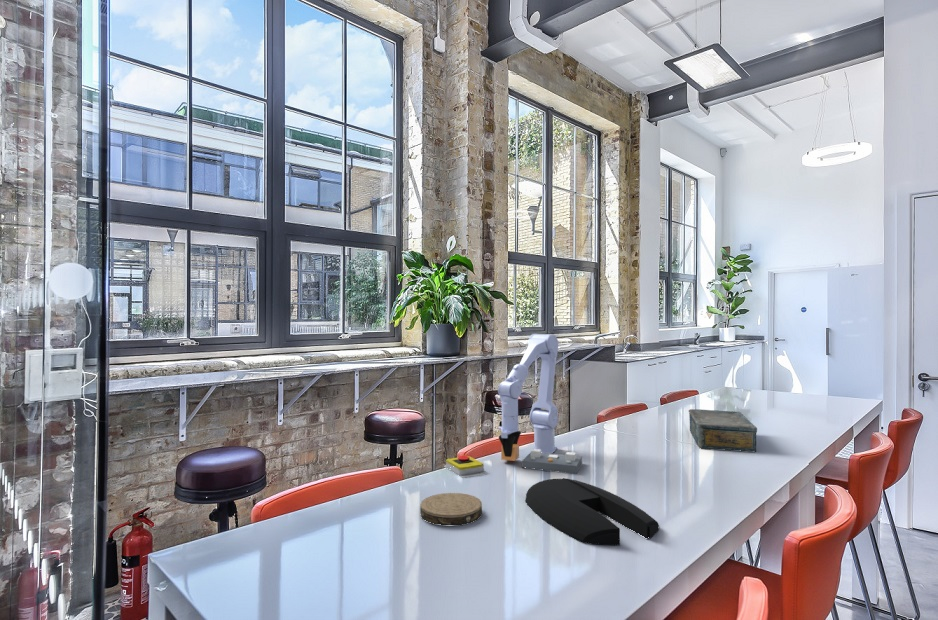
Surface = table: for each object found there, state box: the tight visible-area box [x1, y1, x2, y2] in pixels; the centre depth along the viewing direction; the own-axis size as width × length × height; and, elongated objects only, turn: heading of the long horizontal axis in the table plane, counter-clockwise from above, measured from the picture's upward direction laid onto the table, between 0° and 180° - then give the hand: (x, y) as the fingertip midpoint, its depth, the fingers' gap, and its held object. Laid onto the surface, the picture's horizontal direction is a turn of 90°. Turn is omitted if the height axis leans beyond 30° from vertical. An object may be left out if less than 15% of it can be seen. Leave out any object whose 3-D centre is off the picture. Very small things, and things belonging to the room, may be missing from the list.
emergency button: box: [443, 455, 488, 479], centre depth 173 cm, size 9×4×15 cm
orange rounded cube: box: [500, 443, 520, 462], centre depth 182 cm, size 5×5×4 cm
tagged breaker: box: [548, 455, 558, 460], centre depth 177 cm, size 3×3×3 cm
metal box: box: [688, 408, 758, 453], centre depth 210 cm, size 21×32×10 cm, turn 163°
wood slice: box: [419, 492, 483, 526], centre depth 135 cm, size 16×16×3 cm
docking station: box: [524, 478, 660, 546], centre depth 136 cm, size 25×41×5 cm, turn 22°
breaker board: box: [521, 448, 583, 474], centre depth 177 cm, size 12×18×4 cm, turn 69°
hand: (510, 454), depth 182 cm, fingers closed on orange rounded cube, 5 cm apart
